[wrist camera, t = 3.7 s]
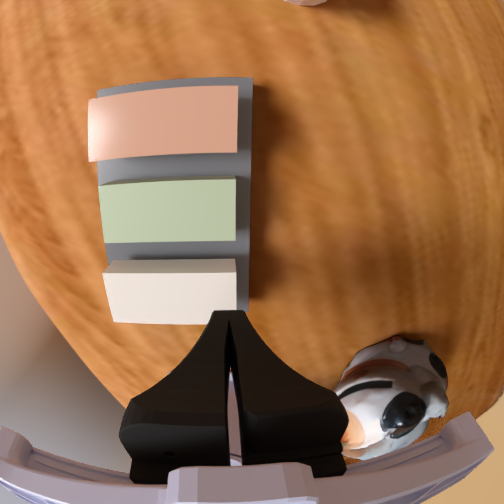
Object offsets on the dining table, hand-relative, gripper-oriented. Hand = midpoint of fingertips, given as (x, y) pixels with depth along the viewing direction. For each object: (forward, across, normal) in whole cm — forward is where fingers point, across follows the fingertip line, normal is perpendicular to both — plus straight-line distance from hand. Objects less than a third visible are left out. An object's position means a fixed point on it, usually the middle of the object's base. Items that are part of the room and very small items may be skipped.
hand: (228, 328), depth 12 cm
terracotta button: (+6, +3, -9) cm, 11 cm away
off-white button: (+6, +4, +1) cm, 7 cm away
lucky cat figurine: (+10, -15, +15) cm, 23 cm away
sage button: (+7, +3, -4) cm, 9 cm away
